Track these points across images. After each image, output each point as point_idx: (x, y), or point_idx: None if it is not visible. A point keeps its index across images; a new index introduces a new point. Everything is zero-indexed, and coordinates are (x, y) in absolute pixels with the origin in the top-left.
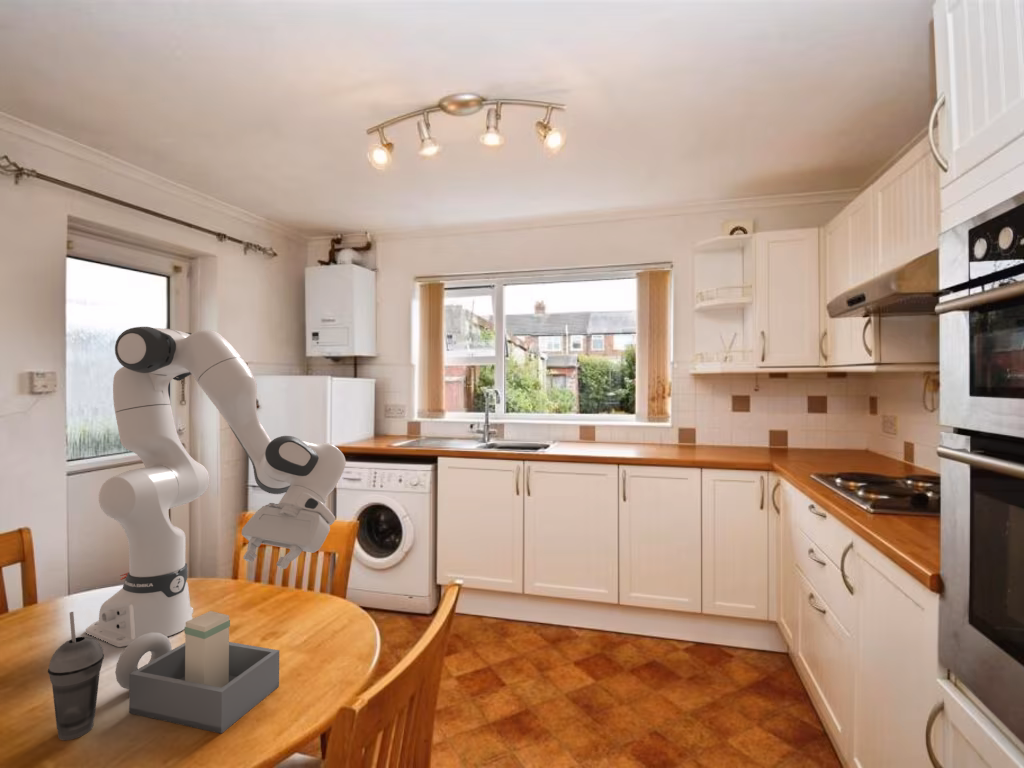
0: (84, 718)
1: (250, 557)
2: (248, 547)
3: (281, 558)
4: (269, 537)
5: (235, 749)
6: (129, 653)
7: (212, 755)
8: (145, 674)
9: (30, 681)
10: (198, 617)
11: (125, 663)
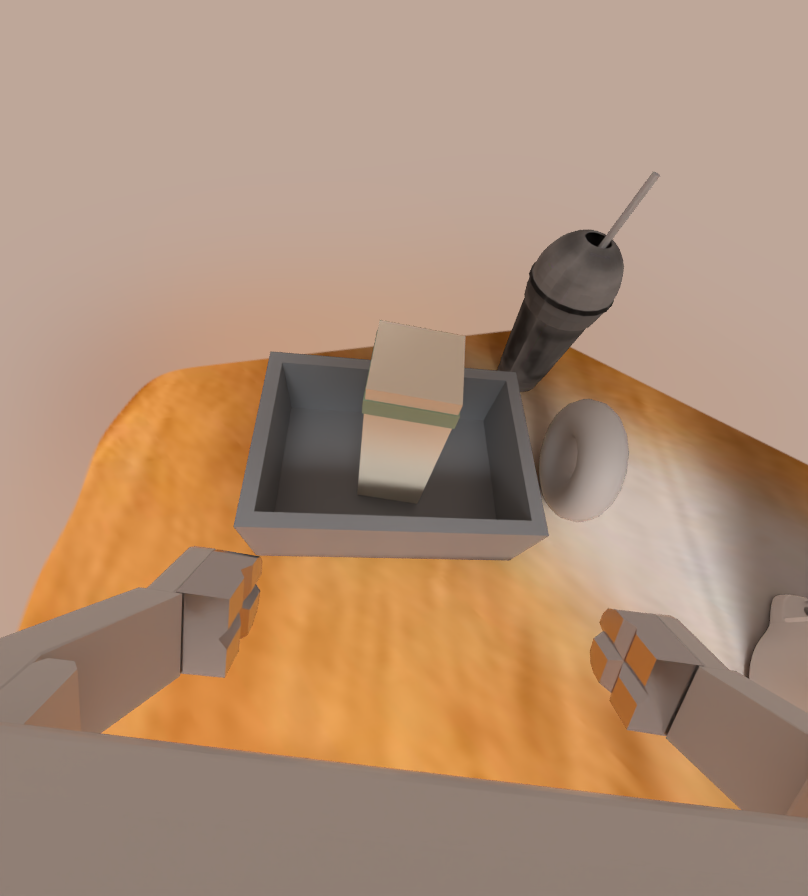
0: (504, 351)
1: (614, 635)
2: (767, 695)
3: (210, 582)
4: (614, 815)
5: (231, 380)
6: (582, 401)
7: (262, 365)
8: (483, 374)
9: (742, 453)
10: (456, 363)
11: (570, 403)
